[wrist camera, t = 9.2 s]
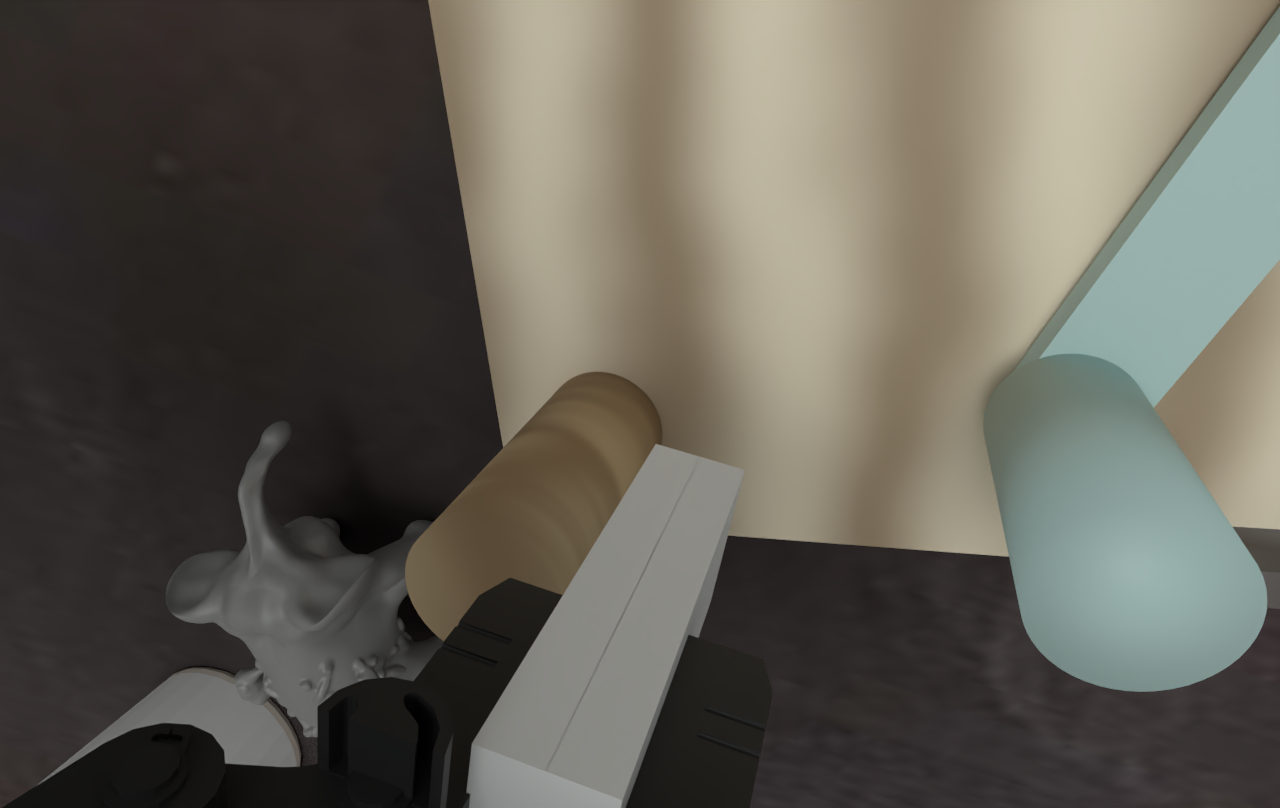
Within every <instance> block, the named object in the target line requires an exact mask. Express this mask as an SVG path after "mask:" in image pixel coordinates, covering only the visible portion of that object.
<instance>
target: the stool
mask: <svg viewBox="0 0 1280 808" xmlns="http://www.w3.org/2000/svg"><path fill="white" fill-rule="evenodd" d="M428 2H429V8H430V14H431V20H432V26H433V32H434V37H435V43H436V49H437V55H438V61H439V67H440V73H441V79H442V85H443V91H444V97H445V103H446V109H447V115H448V121H449V127H450V133H451V139H452V145H453V151H454V157H455V163H456V169H457V175H458V181H459V187H460V193H461V199H462V205H463V211H464V217H465V223H466V229H467V235H468V241H469V247H470V253H471V259H472V265H473V271H474V276H475V282H476V288H477V294H478V300H479V306H480V312H481V318H482V324H483V330H484V336H485V342H486V348H487V354H488V360H489V366H490V372H491V378H492V384H493V390H494V396H495V402H496V408H497V414H498V420H499V426H500V432H501V438H502V444H503V449H502V450H501V451H500V452H499V453H498V454H497V455H496V456H495V457H494V458H493V459H492V460H491V461H490V463H489V464H488V465H487V466H486V467H485V468H484V469H483V470H482V471H481V472H480V473H479V474H478V475H477V476H476V477H475V479H474V480H473V481H472V482H471V483H470V484H469V485H468V486H467V487H466V488H465V489H464V490H463V491H462V492H461V493H460V495H459V496H458V497H457V498H456V499H455V500H454V501H453V502H452V503H451V504H450V505H449V506H448V507H447V508H446V509H445V510H444V512H443V513H442V514H441V515H440V516H439V517H438V518H437V519H436V520H435V521H434V522H433V523H432V524H431V525H430V526H429V528H428V529H427V530H426V531H425V532H424V533H423V534H422V535H421V536H420V537H419V538H418V539H417V540H416V542H415V543H414V545H413V546H412V548H411V550H410V552H409V554H408V557H407V560H406V566H405V580H406V586H407V590H408V594H409V597H410V599H411V601H412V604H413V606H414V608H415V609H416V611H417V613H418V615H419V616H420V617H421V619H422V620H423V621H424V623H425V624H426V625H427V626H428V627H429V628H430V630H431V631H432V632H433V633H434V634H436V635H437V636H438V637H439V638H440V639H441V640H443V641H445V639H446V638H447V637H448V635H449V634H450V633H451V631H452V630H453V629H454V628H455V626H458V624H459V621H460V620H461V618H462V617H463V616H464V614H465V613H466V612H467V610H468V609H469V608H470V607H471V605H472V604H473V603H474V601H475V600H476V599H477V597H478V596H479V595H480V594H482V593H484V592H486V591H487V590H489V589H491V588H493V587H494V586H496V585H498V584H500V583H501V582H503V581H505V580H507V579H508V578H513V579H516V580H519V581H522V582H525V583H528V584H531V585H534V586H537V587H540V588H543V589H546V590H549V591H552V592H555V593H558V594H561V595H563V594H564V593H565V591H566V589H567V588H568V586H569V584H570V583H571V581H572V580H573V578H574V576H575V575H576V573H577V571H578V570H579V568H580V567H581V565H582V563H583V562H584V560H585V558H586V557H587V555H588V554H589V552H590V550H591V549H592V547H593V545H594V544H595V542H596V541H597V539H598V537H599V536H600V534H601V532H602V531H603V529H604V527H605V526H606V524H607V523H608V521H609V519H610V518H611V516H612V514H613V513H614V511H615V510H616V508H617V506H618V505H619V503H620V501H621V500H622V498H623V497H624V495H625V493H626V492H627V490H628V488H629V487H630V485H631V483H632V482H633V480H634V479H635V477H636V475H637V474H638V472H639V470H640V469H641V467H642V466H643V464H644V462H645V461H646V459H647V457H648V456H649V454H650V453H651V451H652V449H653V448H654V446H655V444H658V445H662V446H665V447H669V448H672V449H675V450H679V451H682V452H686V453H689V454H692V455H696V456H699V457H703V458H706V459H710V460H713V461H716V462H720V463H723V464H727V465H730V466H733V467H737V468H740V469H744V470H745V472H744V476H743V480H742V483H741V487H740V491H739V495H738V499H737V503H736V506H735V510H734V514H733V518H732V522H731V525H730V529H729V533H728V536H741V537H755V538H768V539H781V540H794V541H808V542H821V543H834V544H848V545H861V546H874V547H888V548H901V549H914V550H928V551H941V552H954V553H968V554H981V555H994V556H1008V557H1009V554H1008V549H1007V544H1006V539H1005V534H1004V529H1003V524H1002V520H1001V515H1000V510H999V505H998V500H997V495H996V490H995V485H994V481H993V476H992V471H991V466H990V461H989V456H988V451H987V447H986V442H985V437H984V430H983V421H984V414H983V412H984V411H985V410H986V407H987V404H988V402H989V400H990V397H991V396H992V394H993V393H994V391H995V389H996V388H997V387H998V386H999V385H1000V383H1001V382H1002V381H1003V380H1004V379H1005V378H1006V377H1008V376H1009V375H1010V374H1011V373H1013V371H1014V370H1015V369H1016V367H1017V366H1018V364H1019V363H1020V362H1021V360H1022V359H1023V358H1024V356H1025V355H1026V354H1027V352H1028V351H1029V349H1030V348H1031V347H1032V345H1033V344H1034V343H1035V341H1036V340H1037V338H1038V337H1039V336H1040V334H1041V333H1042V332H1043V330H1044V329H1045V327H1046V326H1047V325H1048V323H1049V322H1050V321H1051V319H1052V318H1053V316H1054V315H1055V314H1056V312H1057V311H1058V310H1059V308H1060V307H1061V306H1062V304H1063V303H1064V301H1065V300H1066V299H1067V297H1068V296H1069V295H1070V293H1071V292H1072V290H1073V289H1074V288H1075V286H1076V285H1077V284H1078V282H1079V281H1080V279H1081V278H1082V277H1083V275H1084V274H1085V273H1086V271H1087V270H1088V268H1089V267H1090V266H1091V264H1092V263H1093V262H1094V260H1095V259H1096V258H1097V256H1098V255H1099V253H1100V252H1101V251H1102V249H1103V248H1104V247H1105V245H1106V244H1107V242H1108V241H1109V240H1110V238H1111V237H1112V236H1113V234H1114V233H1115V231H1116V230H1117V229H1118V227H1119V226H1120V225H1121V223H1122V222H1123V220H1124V219H1125V218H1126V216H1127V215H1128V214H1129V212H1130V211H1131V210H1132V208H1133V207H1134V205H1135V204H1136V203H1137V201H1138V200H1139V199H1140V197H1141V196H1142V194H1143V193H1144V192H1145V190H1146V189H1147V188H1148V186H1149V185H1150V183H1151V182H1152V181H1153V179H1154V178H1155V177H1156V175H1157V174H1158V172H1159V171H1160V170H1161V168H1162V167H1163V166H1164V164H1165V163H1166V162H1167V160H1168V159H1169V157H1170V156H1171V155H1172V153H1173V152H1174V151H1175V149H1176V148H1177V146H1178V145H1179V144H1180V142H1181V141H1182V140H1183V138H1184V137H1185V135H1186V134H1187V133H1188V131H1189V130H1190V129H1191V127H1192V126H1193V124H1194V123H1195V122H1196V120H1197V119H1198V118H1199V116H1200V115H1201V114H1202V112H1203V111H1204V109H1205V108H1206V107H1207V105H1208V104H1209V103H1210V101H1211V100H1212V98H1213V97H1214V96H1215V94H1216V93H1217V92H1218V90H1219V89H1220V87H1221V86H1222V85H1223V83H1224V82H1225V81H1226V79H1227V78H1228V76H1229V75H1230V74H1231V72H1232V71H1233V70H1234V68H1235V67H1236V66H1237V64H1238V63H1239V61H1240V60H1241V59H1242V57H1243V56H1244V55H1245V53H1246V52H1247V50H1248V49H1249V48H1250V46H1251V45H1252V44H1253V42H1254V41H1255V39H1256V38H1257V37H1258V35H1259V34H1260V33H1261V31H1262V30H1263V28H1264V27H1265V26H1266V24H1267V23H1268V22H1269V20H1270V19H1271V18H1272V16H1273V15H1274V13H1275V12H1276V11H1277V9H1278V8H1279V7H1280V0H428ZM1154 409H1155V411H1156V412H1157V414H1158V415H1159V417H1160V418H1161V420H1162V421H1163V423H1164V424H1165V426H1166V427H1167V429H1168V430H1169V432H1170V433H1171V435H1172V436H1173V438H1174V439H1175V441H1176V442H1177V444H1178V445H1179V447H1180V449H1181V450H1182V452H1183V453H1184V455H1185V456H1186V458H1187V459H1188V461H1189V462H1190V464H1191V465H1192V467H1193V468H1194V470H1195V471H1196V473H1197V474H1198V476H1199V477H1200V479H1201V480H1202V482H1203V483H1204V485H1205V486H1206V488H1207V489H1208V491H1209V492H1210V494H1211V495H1212V497H1213V498H1214V500H1215V501H1216V503H1217V504H1218V506H1219V507H1220V509H1221V510H1222V512H1223V513H1224V515H1225V516H1226V518H1227V519H1228V521H1229V522H1230V524H1231V525H1232V527H1233V528H1234V530H1235V531H1236V533H1237V534H1238V536H1239V537H1240V539H1241V541H1242V542H1243V544H1244V545H1245V547H1246V548H1247V550H1248V551H1249V553H1250V554H1251V556H1252V557H1253V559H1254V560H1255V562H1256V563H1257V565H1258V567H1259V569H1260V571H1261V573H1262V575H1263V578H1264V581H1265V585H1266V589H1267V608H1276V609H1280V260H1279V261H1278V262H1277V263H1276V265H1275V266H1274V267H1273V268H1272V269H1271V270H1270V272H1269V273H1268V274H1267V275H1266V276H1265V277H1264V279H1263V280H1262V281H1261V282H1260V283H1259V285H1258V286H1257V287H1256V288H1255V289H1254V290H1253V292H1252V293H1251V294H1250V295H1249V296H1248V297H1247V299H1246V300H1245V301H1244V302H1243V303H1242V305H1241V306H1240V307H1239V308H1238V309H1237V310H1236V312H1235V313H1234V314H1233V315H1232V316H1231V317H1230V319H1229V320H1228V321H1227V322H1226V323H1225V325H1224V326H1223V327H1222V328H1221V329H1220V330H1219V332H1218V333H1217V334H1216V335H1215V336H1214V338H1213V339H1212V340H1211V341H1210V342H1209V343H1208V345H1207V346H1206V347H1205V348H1204V349H1203V350H1202V352H1201V353H1200V354H1199V355H1198V356H1197V358H1196V359H1195V360H1194V361H1193V362H1192V363H1191V365H1190V366H1189V367H1188V368H1187V369H1186V370H1185V372H1184V373H1183V374H1182V375H1181V376H1180V378H1179V379H1178V380H1177V381H1176V382H1175V383H1174V385H1173V386H1172V387H1171V388H1170V389H1169V390H1168V392H1167V393H1166V394H1165V395H1164V396H1163V398H1162V399H1161V400H1160V401H1159V402H1158V403H1157V405H1156V406H1155V407H1154Z"/></svg>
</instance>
